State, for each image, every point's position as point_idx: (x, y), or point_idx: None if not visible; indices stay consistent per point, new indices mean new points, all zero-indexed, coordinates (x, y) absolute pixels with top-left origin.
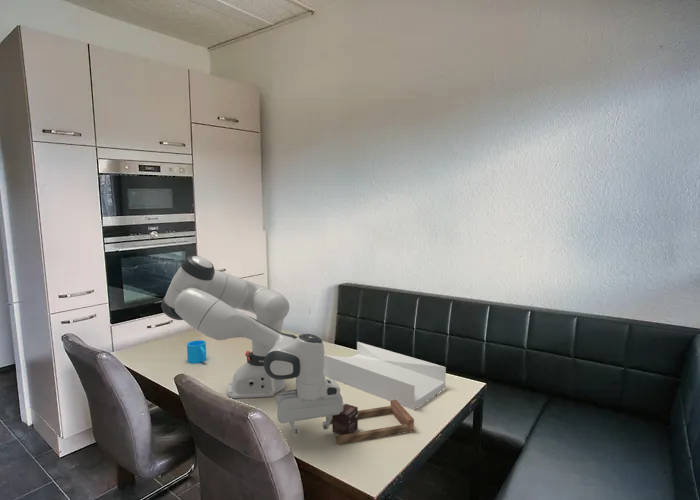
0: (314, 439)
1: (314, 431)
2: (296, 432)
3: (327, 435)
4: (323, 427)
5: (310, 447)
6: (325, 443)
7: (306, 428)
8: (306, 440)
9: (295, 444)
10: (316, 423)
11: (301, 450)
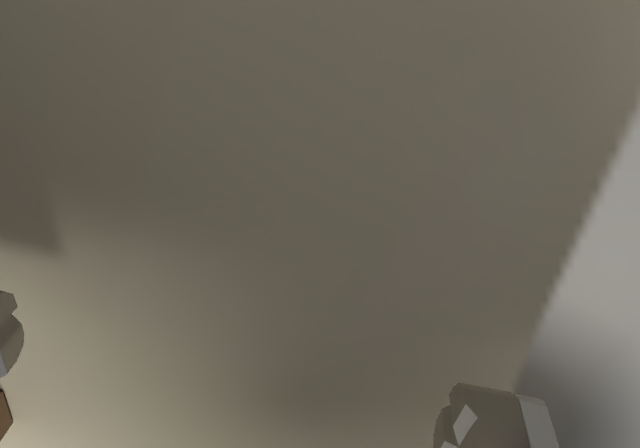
0: (228, 206)
1: (177, 348)
2: (499, 412)
3: (13, 203)
4: (7, 332)
5: (379, 24)
6: (69, 9)
7: (252, 424)
8: (352, 239)
9: (558, 230)
10: (121, 439)
11: (589, 13)
